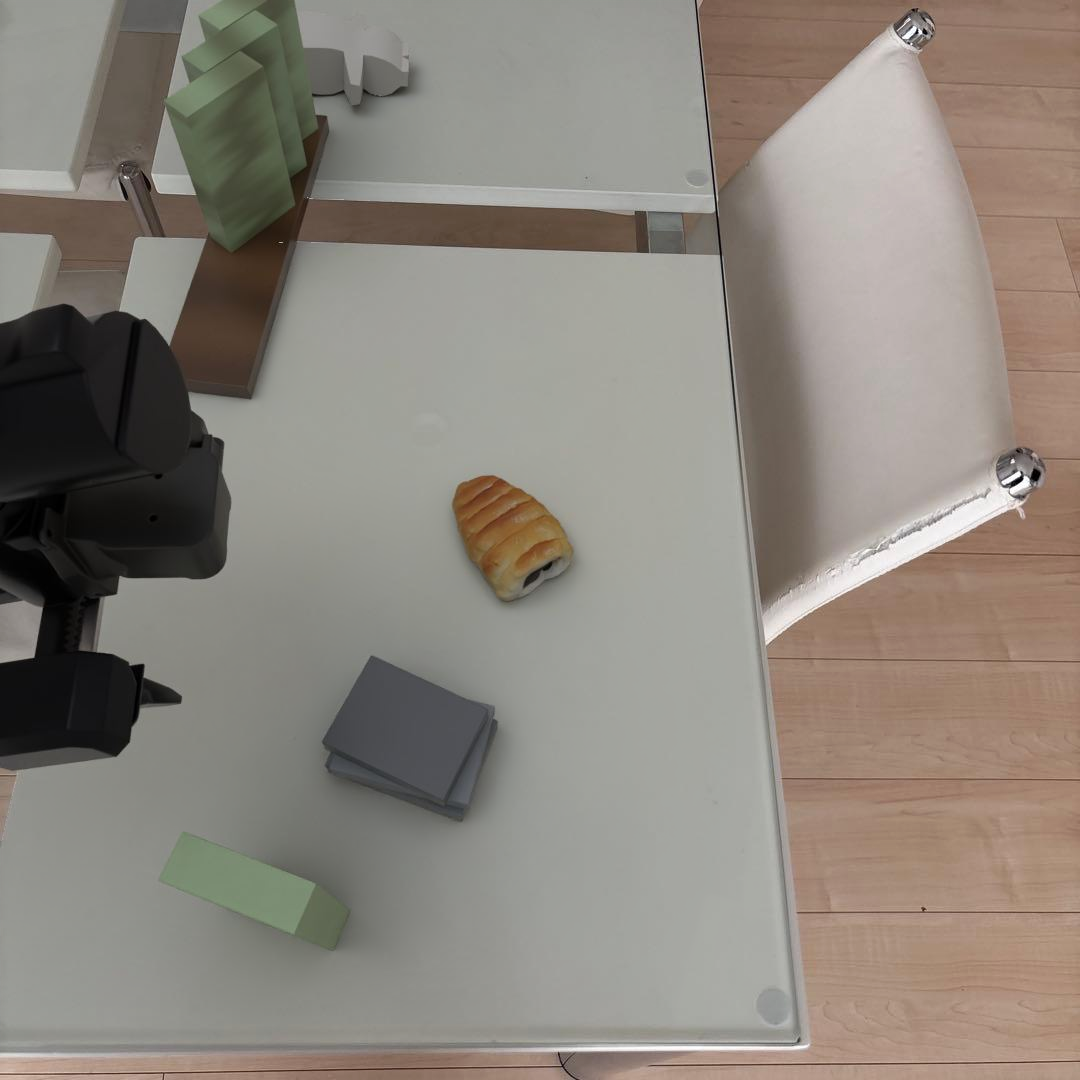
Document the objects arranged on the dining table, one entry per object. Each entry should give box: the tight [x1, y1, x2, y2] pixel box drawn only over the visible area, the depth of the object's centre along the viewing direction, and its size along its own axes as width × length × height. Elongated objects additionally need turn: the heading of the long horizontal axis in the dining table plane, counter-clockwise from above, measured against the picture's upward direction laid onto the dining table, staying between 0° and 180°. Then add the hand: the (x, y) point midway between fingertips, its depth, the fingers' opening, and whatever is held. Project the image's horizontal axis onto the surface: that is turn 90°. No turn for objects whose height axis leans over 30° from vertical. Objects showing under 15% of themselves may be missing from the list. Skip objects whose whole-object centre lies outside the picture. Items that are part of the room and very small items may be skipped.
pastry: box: [451, 474, 574, 602], centre depth 67 cm, size 9×7×4 cm
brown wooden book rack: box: [163, 0, 330, 400], centre depth 72 cm, size 29×7×14 cm, turn 174°
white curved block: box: [297, 10, 410, 106], centre depth 86 cm, size 10×5×15 cm
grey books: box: [321, 655, 498, 823], centre depth 59 cm, size 9×7×5 cm
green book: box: [157, 831, 351, 952], centre depth 51 cm, size 7×2×13 cm, turn 70°
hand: (182, 618), depth 51 cm, fingers open, 9 cm apart
